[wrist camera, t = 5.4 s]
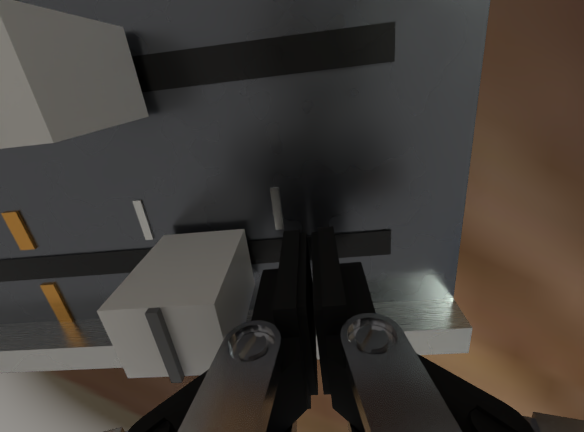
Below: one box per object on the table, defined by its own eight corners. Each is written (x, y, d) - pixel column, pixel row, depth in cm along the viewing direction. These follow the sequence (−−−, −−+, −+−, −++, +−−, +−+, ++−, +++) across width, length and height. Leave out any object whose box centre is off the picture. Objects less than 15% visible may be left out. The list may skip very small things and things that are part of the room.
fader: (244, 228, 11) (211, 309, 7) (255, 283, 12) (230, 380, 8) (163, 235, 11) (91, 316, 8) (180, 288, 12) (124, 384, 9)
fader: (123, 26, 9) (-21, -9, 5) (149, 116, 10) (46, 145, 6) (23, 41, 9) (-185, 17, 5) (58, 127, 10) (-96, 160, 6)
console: (467, -100, 9) (558, -198, 6) (432, 290, 15) (468, 352, 12) (-187, 6, 11) (-396, -22, 8) (6, 316, 17) (-67, 375, 13)
